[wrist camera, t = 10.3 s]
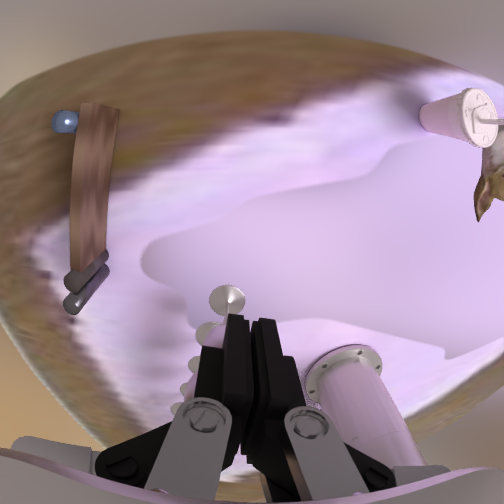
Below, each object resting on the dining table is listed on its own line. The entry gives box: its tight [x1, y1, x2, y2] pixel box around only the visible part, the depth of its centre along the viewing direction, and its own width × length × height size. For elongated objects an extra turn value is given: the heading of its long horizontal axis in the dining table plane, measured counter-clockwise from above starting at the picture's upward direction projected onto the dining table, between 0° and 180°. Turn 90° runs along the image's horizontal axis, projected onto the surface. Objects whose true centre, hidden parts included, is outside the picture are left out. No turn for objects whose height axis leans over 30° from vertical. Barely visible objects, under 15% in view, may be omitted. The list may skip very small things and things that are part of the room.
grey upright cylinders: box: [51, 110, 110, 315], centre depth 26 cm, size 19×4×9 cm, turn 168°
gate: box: [64, 103, 120, 293], centre depth 26 cm, size 18×2×8 cm, turn 169°
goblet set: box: [171, 285, 245, 415], centre depth 33 cm, size 28×6×13 cm, turn 159°
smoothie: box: [419, 88, 504, 148], centre depth 23 cm, size 6×6×14 cm
